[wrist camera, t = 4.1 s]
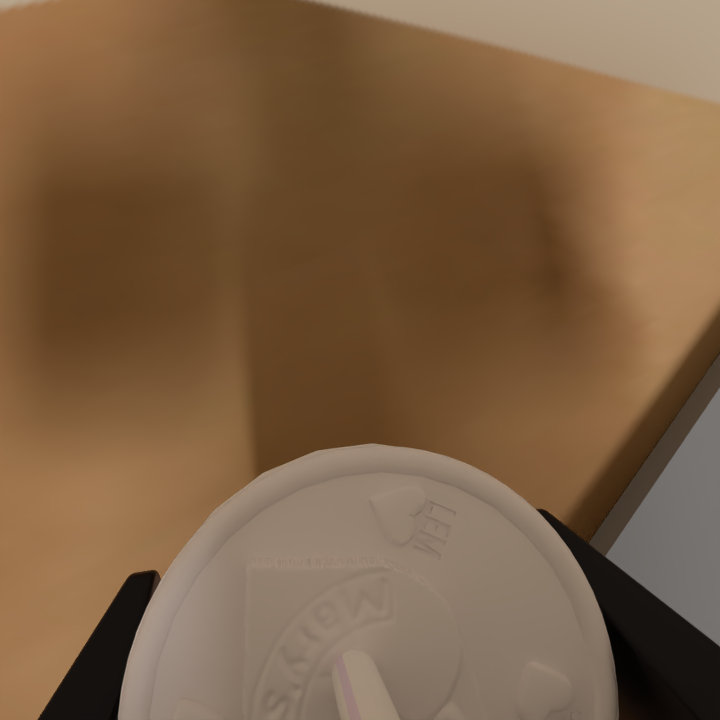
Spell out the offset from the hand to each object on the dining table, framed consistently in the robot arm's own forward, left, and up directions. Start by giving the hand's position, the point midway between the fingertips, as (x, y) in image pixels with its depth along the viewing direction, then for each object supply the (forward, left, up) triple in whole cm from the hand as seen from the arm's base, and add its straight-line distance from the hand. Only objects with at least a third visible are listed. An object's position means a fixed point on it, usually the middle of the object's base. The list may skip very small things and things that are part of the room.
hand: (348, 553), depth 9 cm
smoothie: (-1, +1, -7) cm, 7 cm away
